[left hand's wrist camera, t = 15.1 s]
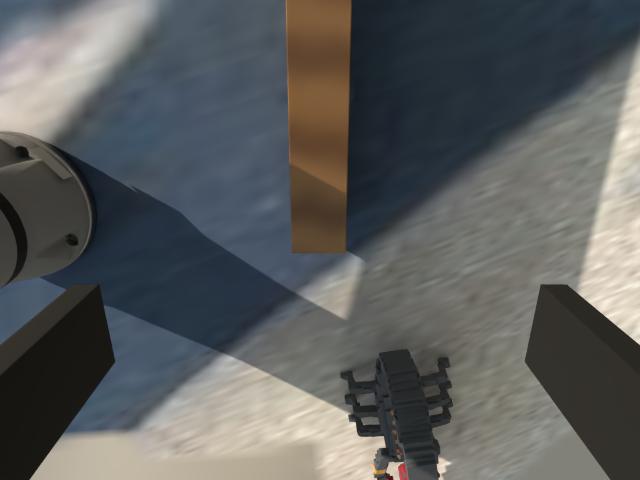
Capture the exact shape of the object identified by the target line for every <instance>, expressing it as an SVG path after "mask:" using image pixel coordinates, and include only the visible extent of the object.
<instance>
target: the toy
mask: <svg viewBox="0 0 640 480" xmlns="http://www.w3.org/2000/svg"><path fill="white" fill-rule="evenodd" d="M379 355H380V358H377V360H376V376H375V380H374V381H369V382H364V381H363V382H355V380H354V379H353V375H352V372H346V373H340V374H341V378H343V379H345V380H347V381H348V385H349V390H350V393H352V394H351V395H345V401H346V404H350V405H353V412H354V414H351V415H349V422H356V427H357V433H358V435H359V436H361V437H371V436H372V437H375V436H384V439H385V445H386V448H379V450H377V454H375V456H376V459H374V463H372V466H373V472H374V478H377V480H393V476H390V474H387V473H386V470H387V467H388V464H389V463H388V462H404V463H403V464H401V465H400V466H399V467H398V470H399V477H400V480H438V478H439V477H440V474H439V473H438V471H437V464H438V463H439V462H438V455H439V454H440V446H439V443H438V440H436V439H435V438H434V436H433V433H432V428H434V427H438V426H441V425H445V424H448V423H450V419H451V415H450V412H449V409H448V408H450V407H452V406H453V404H452V399H450V397H449V395H448V392H447V389H450V388H452V386H451V382H450V381H446V377H448V376H447V373H446V370H445V368H448V367H450V363H449V359H448V358H443V359H439V364H437V365H438V367H439V370H440V372H438V373H433V374H431V375H427V376H421V377H420V375H419V372H418V370H417V368H416V366H415V364H414V362H413V359H412V358H411V356H410V352H409V351H408V350H407V349H405V350H398V351H391V352H383V353H379ZM438 384H439V388H440V390H441V392H440V395H436V396H431V397H427V398H425V395H424V392H423V388H422V387H427V386H433V385H438ZM371 392H375V399H376V406H375V405H370V406H360V403H357V399H356V397H355V395H354V394H355V393H362V394H366V393H371ZM439 406H442V408H443V412H442V413H441V414H437V415H432V416H429V412H428V410H432V409H434V408H436V407H439ZM370 416H372V417H379V423H380V425H363V423H362V421H361V417H370Z"/></svg>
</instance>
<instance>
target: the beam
mask: <svg viewBox="0 0 640 480" xmlns="http://www.w3.org/2000/svg"><path fill="white" fill-rule="evenodd" d="M351 20H352V0H286V31H287V72H288V113H289V155H290V196H291V238H292V253H346V219H347V179H348V139H349V100H350V60H351Z"/></svg>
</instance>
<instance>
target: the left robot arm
mask: <svg viewBox="0 0 640 480" xmlns="http://www.w3.org/2000/svg"><path fill="white" fill-rule="evenodd" d="M95 228H96V208H95V203H94V199H93V196H92V193H91V190H90V188H89V186H88V184H87V182H86V181H85V179H84V177H83V176H82V174H81V173H80V171H79V170H78V169H77V168H76V166H75V165H74V164H73V163H72V162H71V161H70V160H69V159H68V158H67V157H66V156H65V155H63V154H62V153H61V152H60V151H58V150H57V149H56V148H54V147H52V146H51V145H49V144H48V143H46V142H44V141H42V140H40V139H37V138H35V137H32V136H29V135H26V134H21V133H16V132H4V131H2V132H0V289H1V288H2V287H4V286H5V285H7V284H8V283H13V282H18V281H23V280H27V279H32V278H37V277H42V276H46V275H49V274H52V273H54V272H57V271H59V270H61V269H63V268H65V267H67V266H68V265H70V264H71V263H72V262H74V261H75V260H76V259H78V258H79V257H80V256H81V255H82V254H83V253H84V252H85V251H86V249H87V248H88V247H89V245H90V243H91V241H92V239H93V236H94V233H95ZM114 363H115V358H114V353H113V349H112V344H111V339H110V334H109V329H108V325H107V320H106V315H105V310H104V306H103V301H102V296H101V291H100V286H99V285H72V286H71V287H70V288H69V289H67V290H66V291H65V292H64V293H63V294H61V295H60V296H59V297H58V298H57V299H55V300H54V301H53V302H52V303H51V304H49V305H48V306H47V307H46V308H44V309H43V310H42V311H41V312H40V313H38V314H37V315H36V316H35V317H34V318H32V319H31V320H30V321H29V322H28V323H26V324H25V325H24V326H23V327H22V328H20V329H19V330H18V331H17V332H16V333H14V334H13V335H12V336H11V337H10V338H8V339H7V340H6V341H5V342H3V343H2V344H1V345H0V480H30V478H31V477H32V476H33V474H34V473H35V471H36V470H37V469H38V467H39V466H40V465H41V463H42V462H43V460H44V459H45V458H46V456H47V455H48V454H49V452H50V451H51V449H52V448H53V447H54V445H55V444H56V443H57V441H58V440H59V438H60V437H61V436H62V434H63V433H64V431H65V430H66V429H67V427H68V426H69V425H70V423H71V422H72V420H73V419H74V418H75V416H76V415H77V414H78V412H79V411H80V409H81V408H82V407H83V405H84V404H85V403H86V401H87V400H88V398H89V397H90V396H91V394H92V393H93V392H94V390H95V389H96V387H97V386H98V385H99V383H100V382H101V381H102V379H103V378H104V376H105V375H106V374H107V372H108V371H109V370H110V368H111V367H112V365H113V364H114ZM525 363H526V364H527V365H528V367H529V368H530V370H531V371H532V372H533V374H534V375H535V376H536V378H537V379H538V381H539V382H540V383H541V385H542V386H543V387H544V389H545V390H546V392H547V393H548V394H549V396H550V397H551V398H552V400H553V401H554V403H555V404H556V405H557V407H558V408H559V409H560V411H561V412H562V414H563V415H564V416H565V418H566V419H567V420H568V422H569V423H570V425H571V426H572V427H573V429H574V430H575V432H576V433H577V434H578V436H579V437H580V438H581V440H582V441H583V442H584V444H585V445H586V447H587V448H588V449H589V451H590V452H591V453H592V455H593V456H594V458H595V459H596V460H597V462H598V463H599V464H600V466H601V467H602V469H603V470H604V471H605V473H606V474H607V476H608V477H609V478H610V480H640V345H639V344H638V343H637V342H635V341H634V340H633V339H632V338H630V337H629V336H628V335H627V334H626V333H624V332H623V331H622V330H621V329H620V328H618V327H617V326H616V325H615V324H614V323H612V322H611V321H610V320H609V319H608V318H606V317H605V316H604V315H603V314H602V313H600V312H599V311H598V310H597V309H596V308H594V307H593V306H592V305H591V304H589V303H588V302H587V301H586V300H585V299H583V298H582V297H581V296H580V295H579V294H577V293H576V292H575V291H574V290H573V289H571V288H570V287H569V286H568V285H541V286H540V291H539V296H538V301H537V306H536V310H535V315H534V320H533V325H532V329H531V334H530V339H529V344H528V349H527V353H526V358H525Z"/></svg>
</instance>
